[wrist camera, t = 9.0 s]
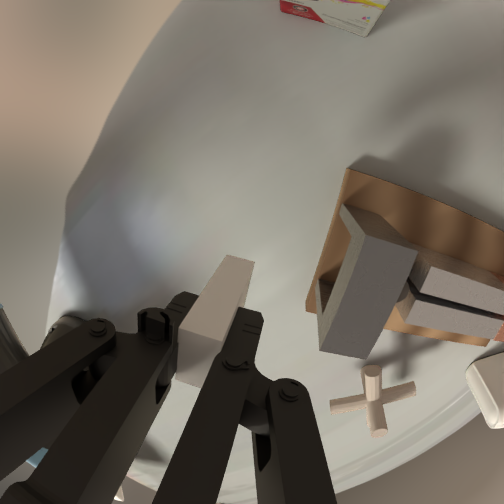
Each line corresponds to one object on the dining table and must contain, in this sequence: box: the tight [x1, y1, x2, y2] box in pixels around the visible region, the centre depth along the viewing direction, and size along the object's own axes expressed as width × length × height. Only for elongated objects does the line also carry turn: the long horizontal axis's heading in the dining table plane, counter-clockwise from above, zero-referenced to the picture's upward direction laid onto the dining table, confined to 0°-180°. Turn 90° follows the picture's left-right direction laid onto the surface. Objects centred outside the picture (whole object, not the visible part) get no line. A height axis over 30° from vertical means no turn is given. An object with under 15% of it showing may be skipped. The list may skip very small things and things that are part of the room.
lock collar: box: [315, 203, 418, 359], centre depth 20 cm, size 4×8×9 cm, turn 168°
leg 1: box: [408, 242, 504, 315], centre depth 20 cm, size 16×2×6 cm, turn 78°
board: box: [306, 168, 504, 347], centre depth 22 cm, size 26×14×8 cm, turn 78°
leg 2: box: [395, 277, 504, 342], centre depth 21 cm, size 16×2×6 cm, turn 78°
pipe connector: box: [330, 365, 416, 438], centre depth 27 cm, size 10×10×10 cm
